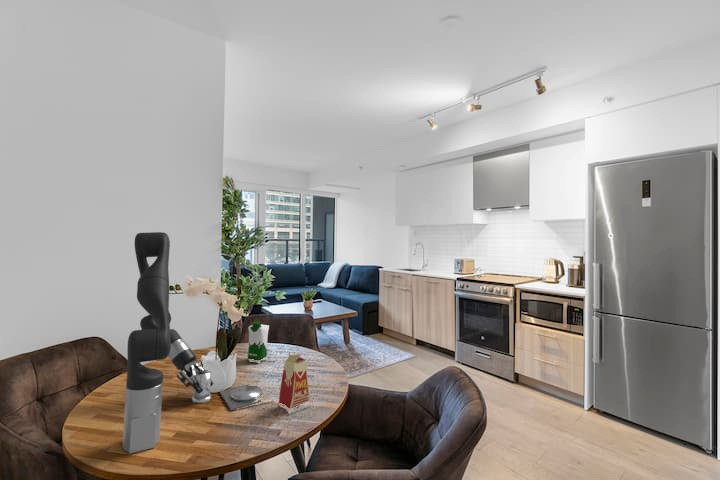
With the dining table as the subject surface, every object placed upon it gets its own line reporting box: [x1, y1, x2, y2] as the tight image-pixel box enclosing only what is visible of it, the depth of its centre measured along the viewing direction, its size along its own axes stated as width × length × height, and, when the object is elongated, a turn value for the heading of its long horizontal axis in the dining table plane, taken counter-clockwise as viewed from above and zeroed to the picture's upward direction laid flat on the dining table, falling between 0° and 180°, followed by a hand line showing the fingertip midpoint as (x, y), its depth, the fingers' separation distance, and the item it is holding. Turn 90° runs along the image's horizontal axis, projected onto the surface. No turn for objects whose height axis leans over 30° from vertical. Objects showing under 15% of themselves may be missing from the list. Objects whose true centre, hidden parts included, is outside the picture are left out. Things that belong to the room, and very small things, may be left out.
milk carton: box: [278, 353, 311, 409], centre depth 127 cm, size 9×9×20 cm
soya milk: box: [247, 321, 270, 360], centre depth 175 cm, size 9×9×20 cm
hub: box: [191, 370, 212, 404], centre depth 129 cm, size 7×7×10 cm
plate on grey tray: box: [219, 384, 262, 411], centre depth 133 cm, size 18×16×2 cm
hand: (206, 388), depth 129 cm, fingers closed on hub, 5 cm apart
